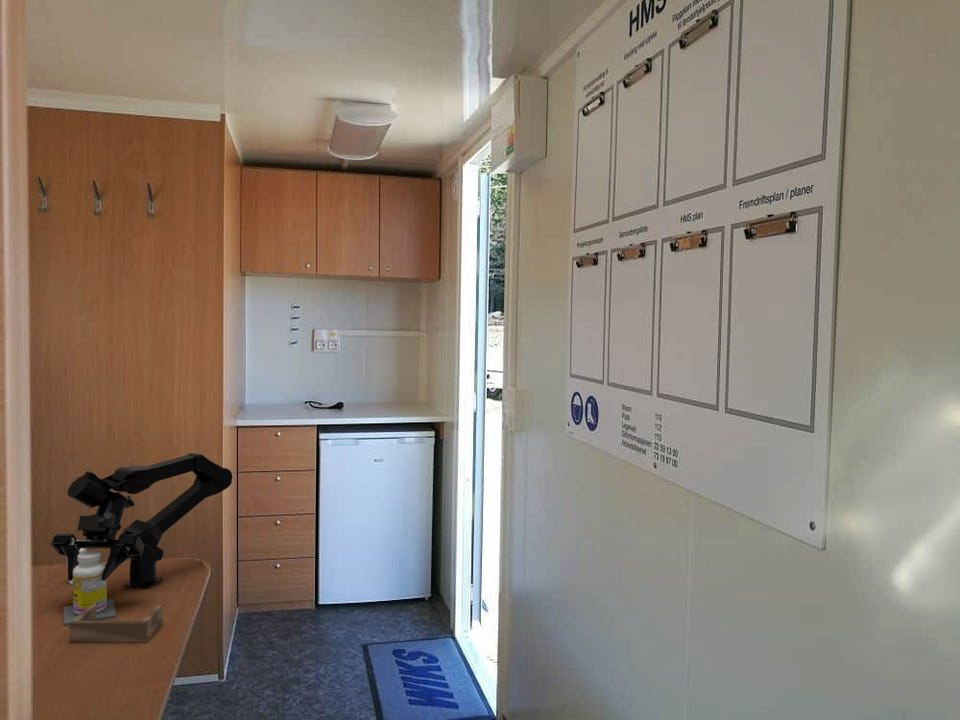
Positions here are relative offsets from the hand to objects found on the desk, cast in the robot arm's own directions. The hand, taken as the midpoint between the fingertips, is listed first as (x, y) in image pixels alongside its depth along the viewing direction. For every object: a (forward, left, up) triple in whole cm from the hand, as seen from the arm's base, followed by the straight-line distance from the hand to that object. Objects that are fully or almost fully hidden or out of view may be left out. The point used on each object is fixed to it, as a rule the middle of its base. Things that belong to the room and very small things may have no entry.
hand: (86, 580), depth 162 cm
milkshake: (-18, -15, -8) cm, 25 cm away
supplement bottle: (-1, 0, -8) cm, 8 cm away
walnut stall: (+7, +12, -8) cm, 16 cm away
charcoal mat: (-1, 0, -8) cm, 8 cm away
